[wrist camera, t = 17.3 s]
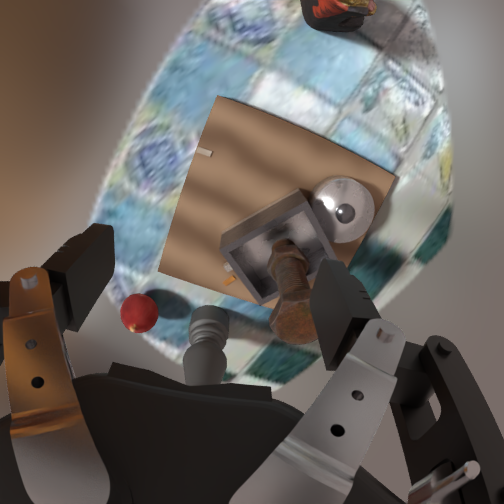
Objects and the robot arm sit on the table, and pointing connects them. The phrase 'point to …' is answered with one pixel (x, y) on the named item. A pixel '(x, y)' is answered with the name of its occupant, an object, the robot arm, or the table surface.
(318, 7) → the statue
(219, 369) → the candle holder
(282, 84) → the table surface
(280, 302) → the bolt
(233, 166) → the wooden cutting board
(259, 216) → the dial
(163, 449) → the robot arm
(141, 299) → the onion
